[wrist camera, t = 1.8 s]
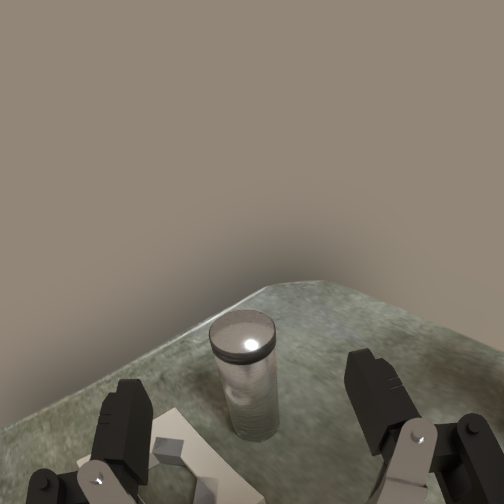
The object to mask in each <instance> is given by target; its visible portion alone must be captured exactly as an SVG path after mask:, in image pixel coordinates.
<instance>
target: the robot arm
mask: <svg viewBox="0 0 504 504" xmlns="http://www.w3.org/2000/svg"><path fill="white" fill-rule="evenodd" d="M344 383H345V388H346V391H347V394H348V396H349V399H350V401H351V404H352V406H353V409H354V411H355V413H356V416H357V418H358V421H359V423H360V426H361V428H362V431H363V433H364V436H365V438H366V441H367V443H368V446H369V448H370V451H371V453H372V456H375V455H379V454H382V457H383V459H384V461H383V463H382V466H381V468H380V471H379V473H378V476H377V478H376V481H375V483H374V486H373V488H372V490H371V493H370V495H369V497H368V500H367V502H366V503H365V504H424V502H425V499H426V495H427V490H428V488H427V486H426V480H427V476H428V473H432V472H434V473H435V476H436V478H437V481H438V483H439V486H440V489H441V491H442V494H443V497H444V500H445V502H446V504H504V453H503V451H502V449H501V447H500V445H499V444H498V442H497V440H496V438H495V436H494V434H493V432H492V430H491V428H490V427H489V425H488V423H487V421H486V420H485V419H484V418H483V417H482V416H481V415H478V414H475V413H470V414H466V415H464V416H463V417H462V418H461V419H460V420H459V421H458V423H449V424H433V423H432V422H431V421H429V420H427V419H424V418H422V417H421V416H420V415H419V413H418V411H417V409H416V408H415V406H414V404H413V402H412V400H411V398H410V397H409V395H408V393H407V391H406V389H405V388H404V386H402V382H401V381H400V379H399V378H398V375H397V374H396V372H395V370H394V368H393V367H392V365H390V364H389V363H388V362H387V361H385V360H384V359H383V358H380V359H376V360H375V358H374V356H373V354H372V353H371V351H370V350H369V349H368V348H365V349H361V350H357V351H352V352H349V354H348V359H347V365H346V370H345V376H344ZM152 422H153V407H152V403H151V401H150V399H149V397H148V395H147V393H146V391H145V389H144V387H143V385H142V383H141V381H140V379H120V380H119V382H118V386H117V391H116V393H109V394H108V396H107V397H106V398H105V400H104V401H103V403H102V407H101V411H100V416H99V419H98V425H97V428H96V433H95V438H94V442H93V447H92V452H91V457H90V459H89V461H88V462H86V463H84V464H83V465H82V466H81V467H80V469H79V470H78V471H75V472H70V473H65V474H59V475H56V474H55V473H54V472H53V471H51V470H49V469H39V470H37V471H36V472H34V473H33V474H32V476H31V478H30V481H29V487H28V492H27V499H26V504H145V502H144V501H143V500H142V499H141V497H140V496H139V495H138V485H147V483H148V468H149V455H150V443H151V432H152Z"/></svg>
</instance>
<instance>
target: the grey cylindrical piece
mask: <svg viewBox="0 0 504 504" xmlns="http://www.w3.org/2000/svg"><path fill="white" fill-rule="evenodd" d="M209 339H210V343H211V347H212V351H213V353H214V354H215V359H216V363H217V367H218V371H219V375H220V379H221V383H222V387H223V390H224V394H225V398H226V402H227V406H228V409H229V413H230V417H231V420H232V424H233V428H234V430H235V432H236V434H237V435H238V436H239V437H240V438H242V439H244V440H246V441H251V442H260V441H264V440H267V439H269V438H270V437H272V436H273V435H274V434H275V433H276V432H277V430H278V428H279V423H280V422H279V403H278V385H277V367H276V350H275V345H276V329H275V324H274V322H273V321H272V319H271V318H270V317H269V316H267V315H265V314H264V313H261V312H258V311H254V310H237V311H233V312H229V313H227V314H225V315H223V316H221V317H220V318H218V319H217V320H216V321H215V322H214V323H213V324H212V326H211V327H210V330H209Z"/></svg>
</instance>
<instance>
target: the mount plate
mask: <svg viewBox="0 0 504 504" xmlns="http://www.w3.org/2000/svg"><path fill="white" fill-rule="evenodd" d="M90 457H91V454H90V455H88V456H86V457H84V458H82V459H80V460H78V461H76V462H77V464H78V466H79V468H80V467H81V466H82V465H83V464H84V463H86V462H88V461H89V459H90ZM159 463H164V464H171V465H179V466H187V468H188V469H189V470H190V471H191V472H192V473H193V474H194V475H195V477H196V478H197V484H196V490H195V495H194V501H193V504H266V503H265V498H264V497H263V496H262V495H261V494H260V493H258V492H257V491H256V490H255V489H254V488H253V487H252V486H251V485H249V484H248V483H247V482H246V481H245V480H244V479H243V478H242V477H241V476H240V475H239V474H238V473H237V472H236V471H234V470H233V469H232V468H231V467H230V466H229V465H228V464H227V463H226V462H225V461H224V460H223V459H222V458H221V457H220V456H219V455H218V454H217V453H216V452H215V451H214V450H213V449H212V448H211V447H210V446H209V445H208V444H207V442H206V441H205V440H204V439H203V438H202V437H201V436H200V435H199V434H198V433H197V432H196V431H195V430H194V429H193V427H192V426H191V425H190V424H189V423H188V422H187V421H186V420H185V418H184V417H183V416H182V415H181V414H180V413H179V412H178V410H177V409H176V408H173V409H171V410H170V411H168V412H166V413H165V414H163V415H161V416H159V417H158V418H156V419H154V420H153V422H152V432H151V443H150V455H149V468H148V469H150V468H152V467H154V466H155V465H157V464H159Z"/></svg>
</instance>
